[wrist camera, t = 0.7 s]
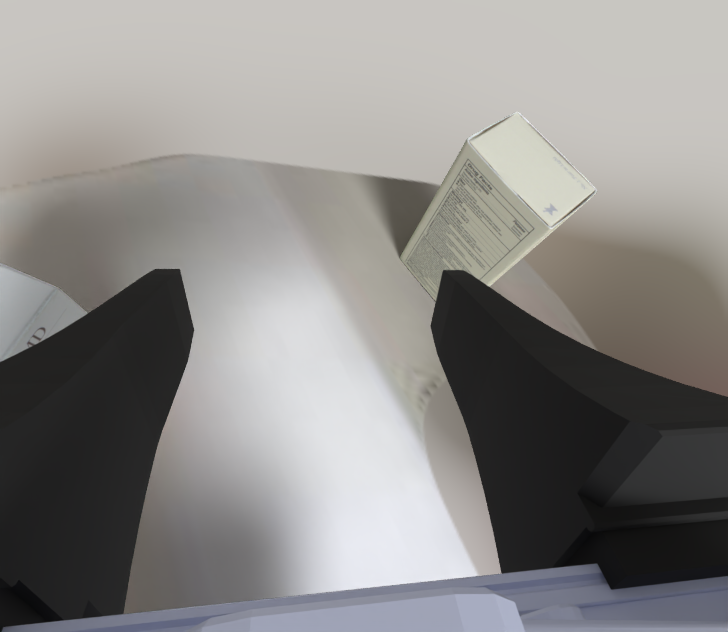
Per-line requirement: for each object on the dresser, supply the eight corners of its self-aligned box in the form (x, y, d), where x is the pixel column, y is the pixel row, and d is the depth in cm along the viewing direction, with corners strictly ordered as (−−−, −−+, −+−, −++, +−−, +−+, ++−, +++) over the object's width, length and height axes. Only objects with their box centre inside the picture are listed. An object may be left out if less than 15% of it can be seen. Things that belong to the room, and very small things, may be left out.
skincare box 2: (485, 289, 31) (605, 193, 20) (447, 320, 30) (554, 233, 18) (434, 230, 32) (520, 106, 21) (394, 256, 30) (465, 137, 19)
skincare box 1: (95, 467, 22) (-81, 470, 11) (18, 439, 21) (-245, 412, 10) (155, 366, 24) (61, 284, 13) (87, 339, 24) (-69, 232, 13)
